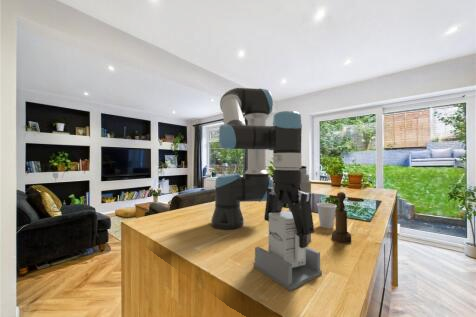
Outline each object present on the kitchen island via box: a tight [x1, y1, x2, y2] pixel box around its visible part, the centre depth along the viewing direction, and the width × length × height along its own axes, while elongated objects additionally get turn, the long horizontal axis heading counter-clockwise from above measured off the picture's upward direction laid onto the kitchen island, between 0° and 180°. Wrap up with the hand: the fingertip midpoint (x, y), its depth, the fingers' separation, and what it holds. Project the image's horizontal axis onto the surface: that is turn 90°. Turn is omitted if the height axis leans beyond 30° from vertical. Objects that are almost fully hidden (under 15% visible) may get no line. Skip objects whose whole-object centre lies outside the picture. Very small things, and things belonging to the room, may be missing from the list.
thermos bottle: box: [288, 165, 312, 244], centre depth 77 cm, size 8×8×28 cm
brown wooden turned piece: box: [331, 191, 352, 244], centre depth 77 cm, size 7×6×18 cm
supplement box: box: [268, 210, 307, 268], centre depth 55 cm, size 7×7×13 cm
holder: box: [253, 246, 323, 292], centre depth 54 cm, size 13×12×6 cm
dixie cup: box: [316, 202, 338, 229], centre depth 92 cm, size 8×8×10 cm
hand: (286, 252), depth 55 cm, fingers closed on supplement box, 8 cm apart
